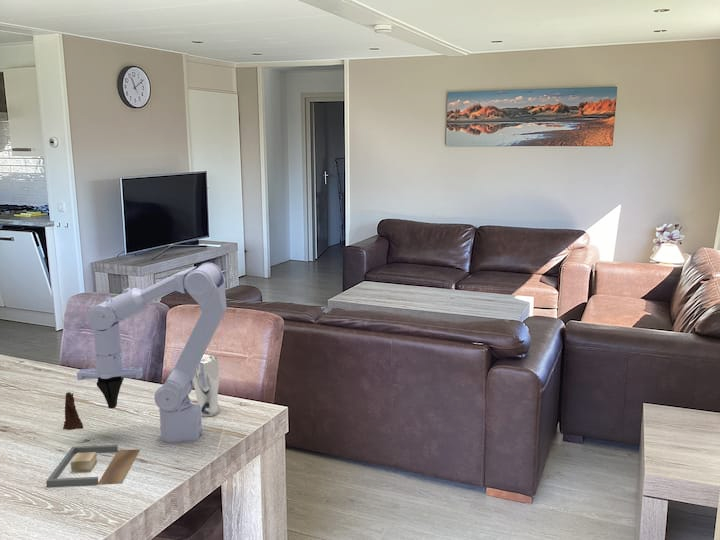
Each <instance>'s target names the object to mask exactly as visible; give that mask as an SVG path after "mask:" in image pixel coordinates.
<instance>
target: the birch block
mask: <svg viewBox="0 0 720 540" xmlns="http://www.w3.org/2000/svg"><path fill="white" fill-rule="evenodd" d="M97 463H98V461H97V453H96V452H87V453H77V454H75V455H74V456H73V457H72V459H71V460H70V470H71V473H85V472H86V473H88V472H92V470H93V469H94V467H95V466H96V465H97Z"/></svg>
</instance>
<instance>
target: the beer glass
mask: <svg viewBox="0 0 720 540" xmlns="http://www.w3.org/2000/svg"><path fill="white" fill-rule="evenodd" d="M192 383H193V387H194V388H193V389H194V391H195V396H196V401H197V402H196V404H199V405H200V407H201V418H202V417H203V418H208V417H213V416H216V415H218V414H219V413H220V405H219V402H218V401H219V400H218V393H219V387H220V365H219V357H218V355H215V354H204V355H203V357H202V359H201V361H200V363H199V365H198V367H197V369H196V371H195V376H194V378H193V381H192Z"/></svg>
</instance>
